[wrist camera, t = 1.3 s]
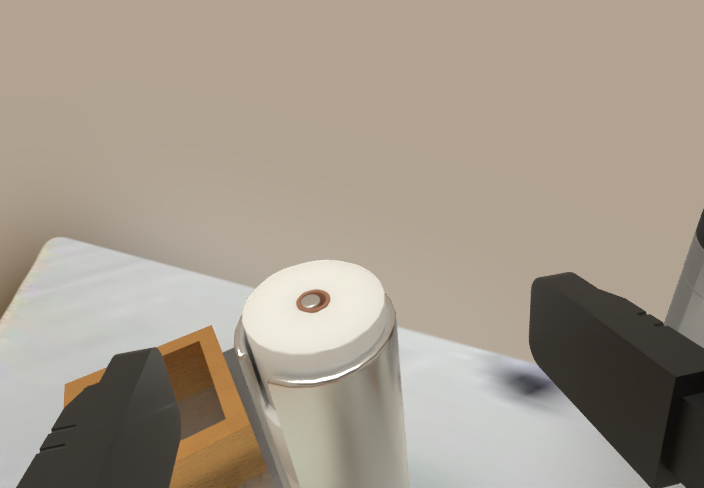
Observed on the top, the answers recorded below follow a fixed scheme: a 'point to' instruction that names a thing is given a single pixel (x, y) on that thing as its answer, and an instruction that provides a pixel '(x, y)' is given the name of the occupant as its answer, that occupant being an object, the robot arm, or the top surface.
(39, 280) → the top surface
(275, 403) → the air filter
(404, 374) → the top surface
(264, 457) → the dock
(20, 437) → the top surface
